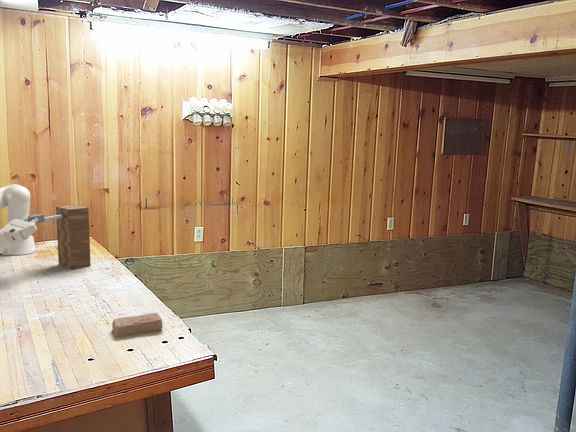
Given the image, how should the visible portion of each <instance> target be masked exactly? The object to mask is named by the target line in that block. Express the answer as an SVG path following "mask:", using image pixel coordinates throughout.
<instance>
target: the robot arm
mask: <svg viewBox="0 0 576 432" xmlns="http://www.w3.org/2000/svg"><path fill="white" fill-rule="evenodd" d="M7 207H8V208H7ZM5 208H7V214H6V215H7V216H6V219H7V224H5V225H4V227H2V228H1V229H0V254H1V255H3V256H22V255H23V256H24V255H30V254H32V253H35V252H36V251H38V248H37V247H36V246H35V239H34V236H33V234H34V233H35V232H36V231H37V230H38V227H37V225H36V224H37V223H36V222H37V221H38V218H36V217H35V218H33V220H32V221H30V222H29V221H28V216H30V208H31V193H30V190H29V189H27V187H25V186H23V185H20V184H17V183H16V184H15V183H14V184H13V183H12V184H9V185H6V186H3V187H0V211H1V210H3V209H5ZM35 223H36V224H35Z"/></svg>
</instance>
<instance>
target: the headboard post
mask: <svg viewBox="0 0 576 432" xmlns="http://www.w3.org/2000/svg"><path fill="white" fill-rule="evenodd" d="M55 213H56V214H55V215H60V214H61V215H63V218H59V219H56V233H57V234H56V235H57V254H58V256H57V257H58V266H61V267H64V268H67V269H70V270H77V269H82V268H88V267H91V264H92V263H91V244H90V243H91V240H90V236H91V235H90V216H89V215H90V214H89V213H90V212H89V207H86V206H81V205H75V204H71V205H69V204H68V205H60V206H55Z"/></svg>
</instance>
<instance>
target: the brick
mask: <svg viewBox="0 0 576 432" xmlns="http://www.w3.org/2000/svg"><path fill="white" fill-rule="evenodd" d="M111 325H112V332H113V336H114V337H116V338H119V337H125V336H131V335H140V334H144V333H152V332H157V331H159V330H162V329H163V319H162V317H161V315H159V313H157V312H151V313H143V314H141V315H134V316H125V317H119V318H114V319H113V320H112V324H111Z"/></svg>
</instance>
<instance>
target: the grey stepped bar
mask: <svg viewBox="0 0 576 432" xmlns="http://www.w3.org/2000/svg"><path fill="white" fill-rule="evenodd" d="M35 217H36V218H38V221H37V222H36V223H35V225H36V224H40V223H45V222H47V221H53V220H57V219H59V218H63V215H61V214H60V215H56V214H55V215H50V216H45V214H42V213H37V214H32V215H29V216H28V221H29V222H30V221H32V220H33V218H35Z"/></svg>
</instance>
